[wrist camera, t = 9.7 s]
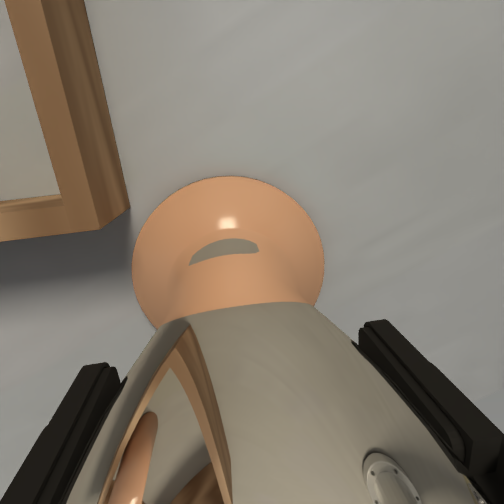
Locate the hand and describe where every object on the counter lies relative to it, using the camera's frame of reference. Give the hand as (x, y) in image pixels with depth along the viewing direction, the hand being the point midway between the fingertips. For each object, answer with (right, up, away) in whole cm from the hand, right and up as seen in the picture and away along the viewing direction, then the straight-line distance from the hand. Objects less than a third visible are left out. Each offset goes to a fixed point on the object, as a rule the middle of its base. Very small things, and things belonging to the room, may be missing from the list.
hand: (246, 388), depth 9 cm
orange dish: (-1, +3, +9) cm, 9 cm away
